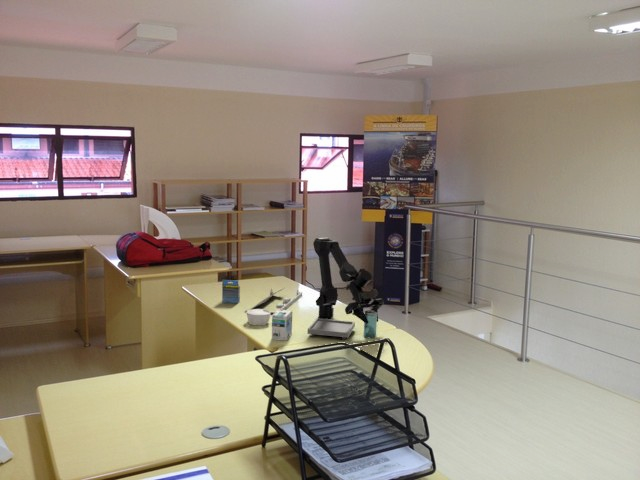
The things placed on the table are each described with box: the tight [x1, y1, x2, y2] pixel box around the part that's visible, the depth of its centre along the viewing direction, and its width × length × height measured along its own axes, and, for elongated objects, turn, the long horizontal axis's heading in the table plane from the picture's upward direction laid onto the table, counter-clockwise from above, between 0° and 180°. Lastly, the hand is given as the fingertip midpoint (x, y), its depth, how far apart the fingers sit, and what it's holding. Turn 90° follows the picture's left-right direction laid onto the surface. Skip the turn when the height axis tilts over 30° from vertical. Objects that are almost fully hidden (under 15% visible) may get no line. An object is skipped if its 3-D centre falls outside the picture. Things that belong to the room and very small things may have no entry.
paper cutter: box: [250, 288, 303, 314], centre depth 317 cm, size 18×45×6 cm, turn 166°
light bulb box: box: [271, 308, 293, 341], centre depth 261 cm, size 11×7×11 cm, turn 168°
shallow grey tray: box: [307, 317, 356, 341], centre depth 268 cm, size 18×18×4 cm
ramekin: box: [246, 308, 272, 326], centre depth 281 cm, size 11×11×5 cm
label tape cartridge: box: [221, 279, 241, 304], centre depth 317 cm, size 9×4×12 cm, turn 84°
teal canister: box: [363, 309, 378, 339], centre depth 266 cm, size 6×6×11 cm
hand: (372, 322), depth 265 cm, fingers closed on teal canister, 5 cm apart
